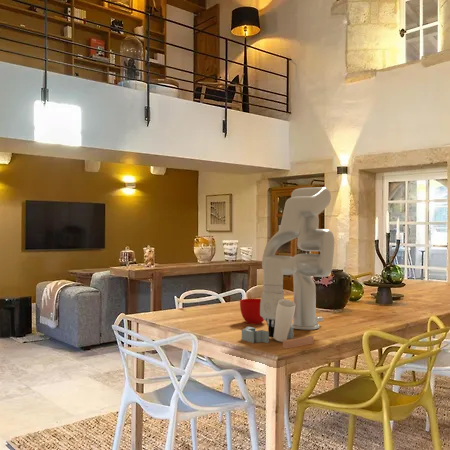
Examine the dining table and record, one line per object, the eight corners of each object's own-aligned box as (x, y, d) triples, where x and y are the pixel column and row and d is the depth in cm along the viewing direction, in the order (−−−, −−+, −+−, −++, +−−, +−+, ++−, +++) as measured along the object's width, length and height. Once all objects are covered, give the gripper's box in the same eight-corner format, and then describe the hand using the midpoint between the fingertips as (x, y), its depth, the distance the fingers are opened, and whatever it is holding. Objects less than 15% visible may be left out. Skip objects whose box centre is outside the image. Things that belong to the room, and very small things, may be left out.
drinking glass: (278, 332, 199) (284, 297, 195) (292, 339, 195) (299, 304, 190) (267, 337, 194) (274, 301, 190) (281, 345, 190) (288, 309, 185)
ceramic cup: (266, 318, 242) (266, 297, 242) (270, 325, 225) (270, 302, 225) (238, 318, 241) (238, 297, 241) (240, 325, 224) (240, 302, 224)
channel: (272, 333, 209) (272, 323, 209) (313, 343, 191) (313, 332, 191) (237, 338, 198) (237, 328, 198) (277, 350, 180) (277, 338, 180)
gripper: (253, 287, 202) (252, 334, 202) (278, 291, 190) (278, 341, 190) (267, 286, 206) (267, 332, 206) (293, 290, 194) (293, 339, 194)
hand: (272, 336), depth 198 cm, fingers closed
